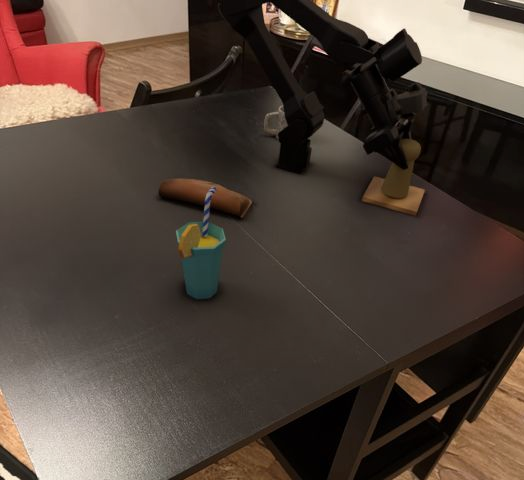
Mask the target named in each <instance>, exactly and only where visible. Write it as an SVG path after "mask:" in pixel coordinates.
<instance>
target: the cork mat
mask: <svg viewBox="0 0 524 480" xmlns="http://www.w3.org/2000/svg"><path fill="white" fill-rule="evenodd" d="M384 180H385V178H382V177H380V176H379V177H378V176H373V178H372V180H371V182H370V183H369V185H368V187H367V189H366V190H365V191H364V194H363V195H362V199H361V202H364V203H367V204H371V205H375V206H379V207H382V208H386V209H390V210H393V211H397V212H401V213H404V214H408V215H410V216H411V215H412V216H415V217H416V216H417V214H418V211H419V208H420V206H421V203H422V199H423V197H424V194H425V192H426V189H424V188H420V187H417V186H413V185H410V186H409V191H408V195H407V196H406V197H404V198H395V197H391V196H388V195H386V194H385V193H383V192H382V190H381V187H382V185H383V183H384Z"/></svg>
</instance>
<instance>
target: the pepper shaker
mask: <svg viewBox="0 0 524 480" xmlns="http://www.w3.org/2000/svg"><path fill="white" fill-rule="evenodd" d="M401 145H402V148H403V151H404V154H405V157H406V160H407V163H408V166H409V167H408V168H407V169H405V170H403V169H401V168H400V167H399V166H397V165H396V164H394V163H393V162H392V163H391V165H390V167H389V169H388V172H387V173H386V176H385V178H384V179H385V180H384V183H383V185H382V187H381V190H382V192H383V193H385V194H386V195H388V196H391V197H395V198H404V197H406V196H407V195H408V191H409V186H411V180H412V176H413V171H414V166H415V160H417V159H418V158H419V156H420V154H421V151H422V150H421V149H422V147H421V144H420V142H418V141H417V140H415V139H412V140H411V139H402V140H401Z"/></svg>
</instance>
